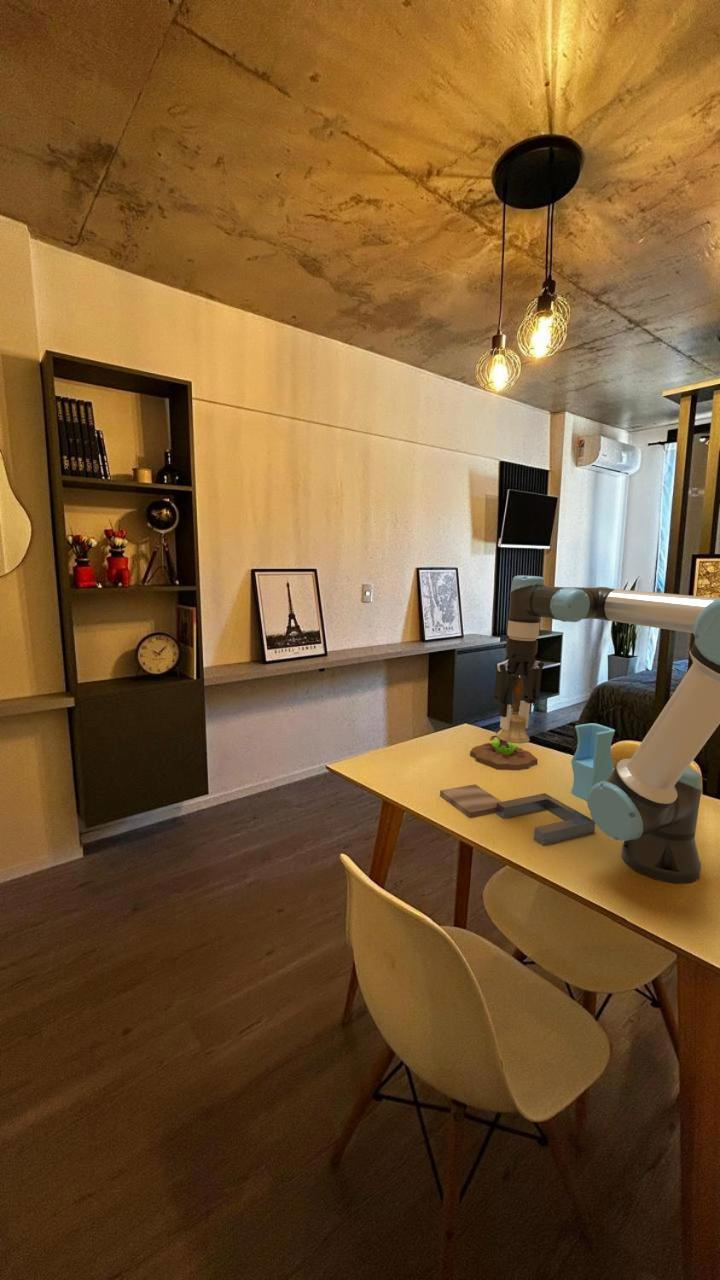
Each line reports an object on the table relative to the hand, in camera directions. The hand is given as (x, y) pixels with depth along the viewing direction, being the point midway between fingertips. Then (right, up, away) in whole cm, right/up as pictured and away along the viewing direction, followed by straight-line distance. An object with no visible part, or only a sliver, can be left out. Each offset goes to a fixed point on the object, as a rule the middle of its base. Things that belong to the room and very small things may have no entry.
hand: (513, 727), depth 134 cm
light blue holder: (+27, -22, +16) cm, 38 cm away
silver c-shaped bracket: (+7, -24, -1) cm, 25 cm away
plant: (+9, -18, +43) cm, 48 cm away
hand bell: (0, -3, 0) cm, 3 cm away
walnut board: (-9, -22, +9) cm, 26 cm away
